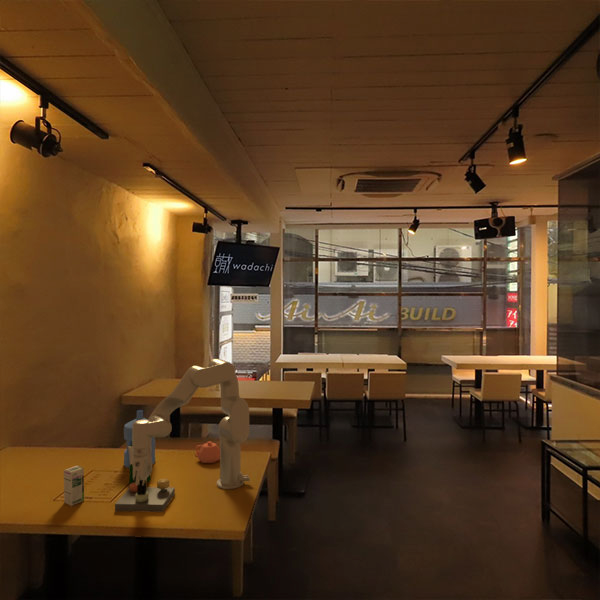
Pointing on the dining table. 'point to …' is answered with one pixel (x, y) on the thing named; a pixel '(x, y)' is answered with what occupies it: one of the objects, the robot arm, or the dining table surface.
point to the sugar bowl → (208, 452)
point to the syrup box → (73, 485)
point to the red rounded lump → (133, 487)
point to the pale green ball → (142, 497)
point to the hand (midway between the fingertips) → (141, 493)
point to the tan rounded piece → (163, 484)
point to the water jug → (128, 437)
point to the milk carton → (132, 467)
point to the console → (153, 504)
